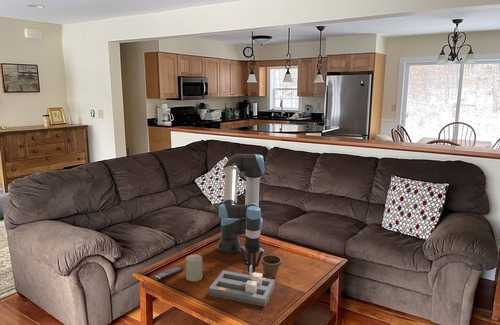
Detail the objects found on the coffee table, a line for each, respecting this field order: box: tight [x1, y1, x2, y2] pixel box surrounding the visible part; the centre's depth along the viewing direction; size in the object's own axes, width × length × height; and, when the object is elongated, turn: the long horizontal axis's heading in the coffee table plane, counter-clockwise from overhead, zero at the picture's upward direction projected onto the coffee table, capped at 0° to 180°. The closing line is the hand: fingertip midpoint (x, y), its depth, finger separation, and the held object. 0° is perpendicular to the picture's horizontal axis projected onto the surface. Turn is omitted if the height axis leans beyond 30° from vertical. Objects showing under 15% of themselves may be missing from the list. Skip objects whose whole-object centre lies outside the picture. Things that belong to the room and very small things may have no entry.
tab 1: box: [245, 280, 257, 294], centre depth 190 cm, size 4×5×6 cm
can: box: [185, 254, 203, 282], centre depth 208 cm, size 9×9×12 cm
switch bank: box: [208, 269, 276, 308], centre depth 197 cm, size 20×30×4 cm, turn 73°
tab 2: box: [251, 271, 264, 285], centre depth 199 cm, size 4×5×6 cm
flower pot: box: [260, 254, 282, 279], centre depth 213 cm, size 12×11×10 cm
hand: (251, 277), depth 199 cm, fingers closed
